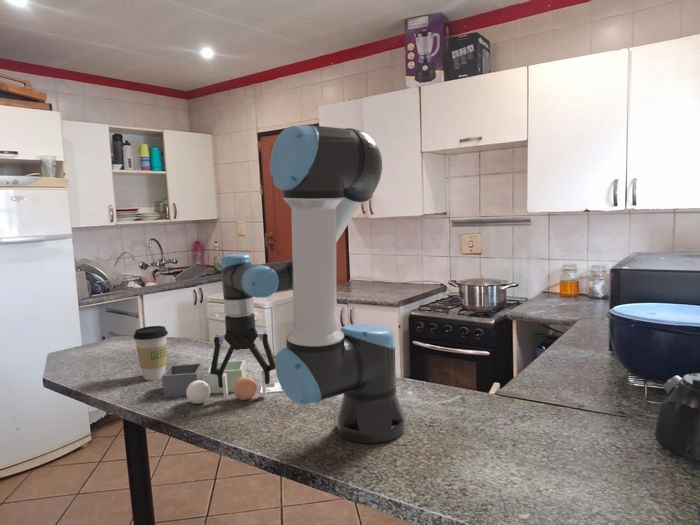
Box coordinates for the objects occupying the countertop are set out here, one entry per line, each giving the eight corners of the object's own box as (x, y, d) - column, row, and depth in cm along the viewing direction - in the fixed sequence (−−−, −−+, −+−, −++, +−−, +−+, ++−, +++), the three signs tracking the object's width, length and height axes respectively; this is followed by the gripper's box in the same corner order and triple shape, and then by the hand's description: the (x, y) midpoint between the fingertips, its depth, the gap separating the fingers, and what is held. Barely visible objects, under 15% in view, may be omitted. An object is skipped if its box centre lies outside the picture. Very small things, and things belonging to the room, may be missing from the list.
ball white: (208, 406, 130) (207, 383, 129) (184, 408, 129) (183, 385, 128) (212, 397, 136) (211, 376, 135) (189, 399, 135) (188, 378, 134)
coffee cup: (172, 379, 153) (168, 330, 151) (137, 384, 149) (132, 334, 147) (170, 369, 162) (166, 323, 160) (137, 374, 158) (133, 327, 156)
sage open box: (242, 391, 140) (241, 369, 139) (208, 393, 139) (207, 372, 138) (246, 379, 149) (244, 360, 148) (214, 382, 148) (212, 362, 147)
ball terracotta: (256, 402, 131) (254, 380, 130) (232, 404, 130) (231, 382, 130) (258, 394, 137) (256, 372, 136) (235, 396, 136) (233, 374, 136)
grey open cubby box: (198, 394, 139) (196, 373, 138) (163, 397, 138) (161, 376, 137) (204, 383, 148) (202, 363, 147) (172, 385, 147) (170, 365, 146)
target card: (293, 390, 138) (293, 389, 138) (260, 393, 137) (259, 392, 137) (293, 381, 145) (293, 380, 145) (261, 384, 144) (261, 383, 144)
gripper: (282, 308, 136) (287, 388, 138) (198, 313, 134) (205, 395, 136) (282, 314, 128) (287, 399, 131) (193, 319, 126) (200, 406, 129)
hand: (245, 397), depth 134 cm, fingers open, 9 cm apart
